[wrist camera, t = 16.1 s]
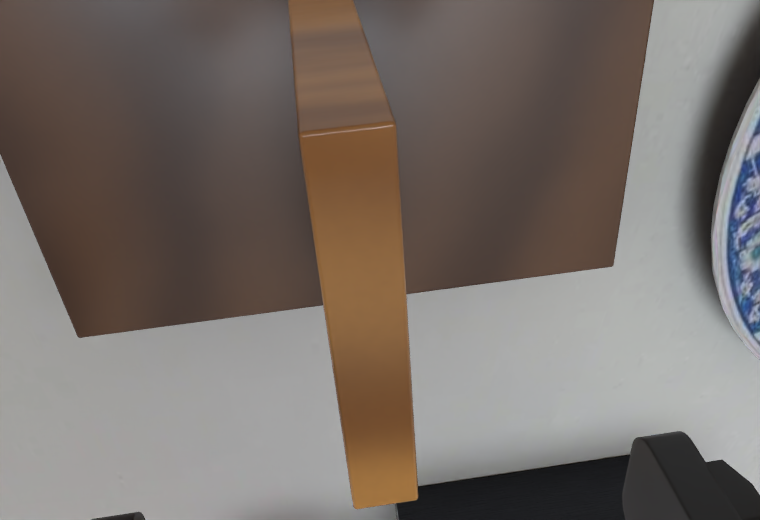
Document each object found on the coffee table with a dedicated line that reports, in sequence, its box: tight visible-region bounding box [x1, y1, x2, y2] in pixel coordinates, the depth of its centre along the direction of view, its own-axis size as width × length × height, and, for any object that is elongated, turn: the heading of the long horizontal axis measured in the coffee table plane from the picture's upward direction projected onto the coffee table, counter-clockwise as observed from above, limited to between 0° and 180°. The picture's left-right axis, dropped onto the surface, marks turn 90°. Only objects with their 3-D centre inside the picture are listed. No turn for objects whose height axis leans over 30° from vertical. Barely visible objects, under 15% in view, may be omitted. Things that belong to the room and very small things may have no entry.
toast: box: [288, 0, 418, 509], centre depth 18 cm, size 10×2×10 cm, turn 4°
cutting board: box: [0, 0, 654, 338], centre depth 23 cm, size 20×13×2 cm, turn 94°
